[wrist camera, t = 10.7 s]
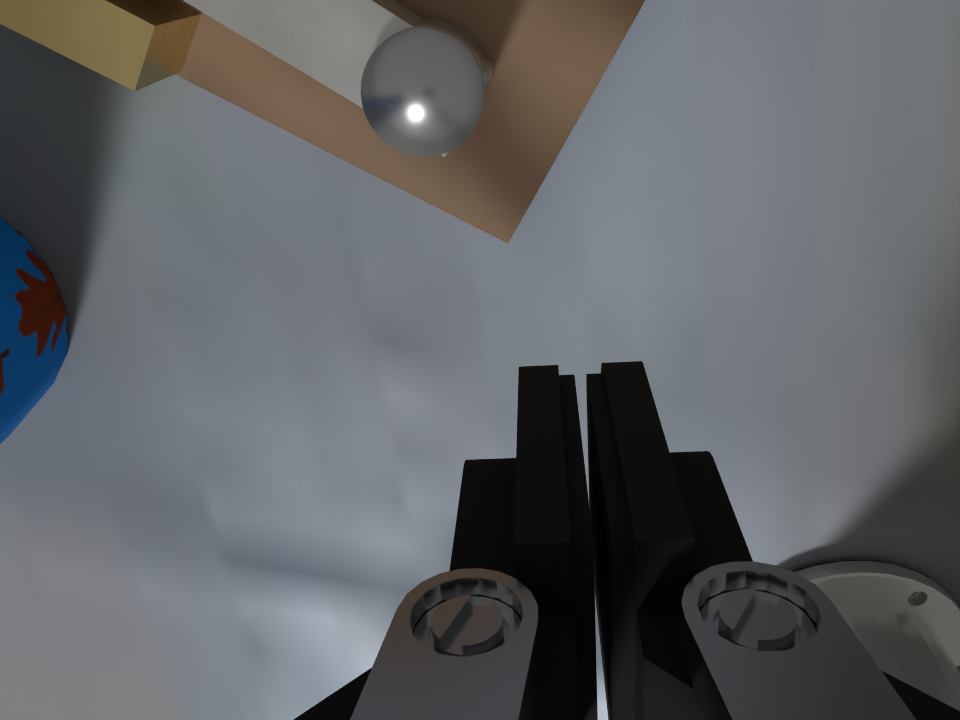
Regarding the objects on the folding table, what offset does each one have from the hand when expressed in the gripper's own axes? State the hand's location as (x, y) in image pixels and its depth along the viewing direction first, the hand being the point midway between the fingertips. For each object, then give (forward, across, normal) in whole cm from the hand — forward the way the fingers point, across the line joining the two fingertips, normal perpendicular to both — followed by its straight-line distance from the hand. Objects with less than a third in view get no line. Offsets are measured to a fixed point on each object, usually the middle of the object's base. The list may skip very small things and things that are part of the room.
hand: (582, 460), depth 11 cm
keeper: (+19, +14, -6) cm, 24 cm away
